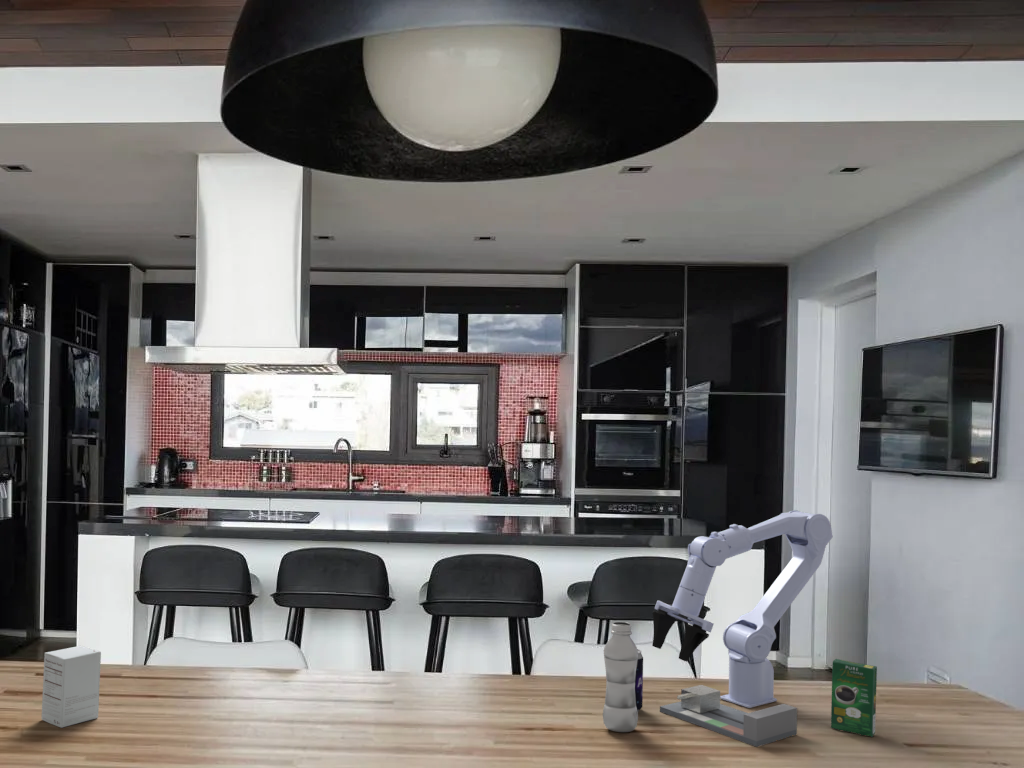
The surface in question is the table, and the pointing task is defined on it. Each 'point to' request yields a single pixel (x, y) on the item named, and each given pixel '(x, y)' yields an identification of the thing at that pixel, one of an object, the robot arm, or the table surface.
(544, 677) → the table surface
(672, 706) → the gauge board
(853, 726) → the coffee box
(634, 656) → the plastic bottle
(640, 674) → the beverage can
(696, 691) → the slider block with tab
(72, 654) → the supplement box
